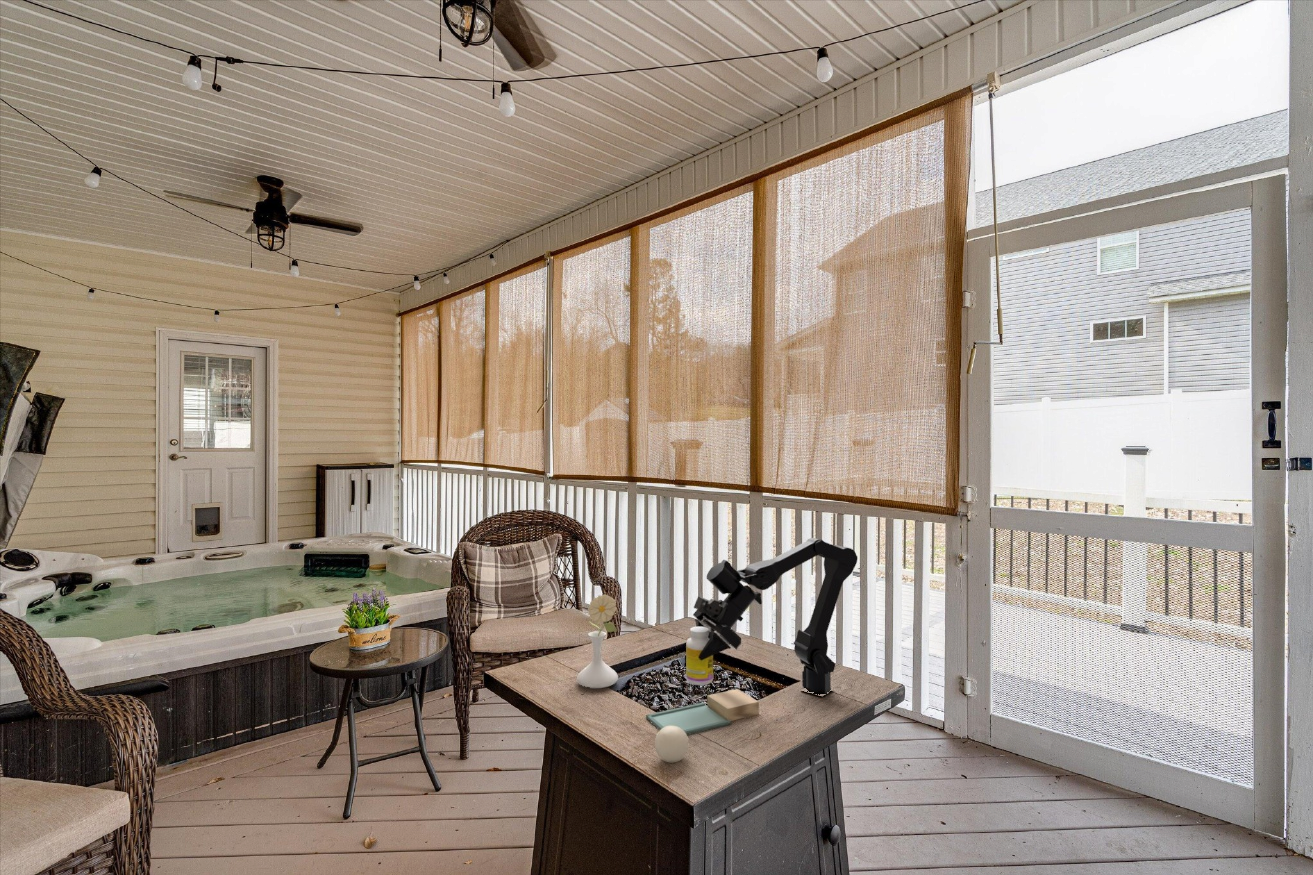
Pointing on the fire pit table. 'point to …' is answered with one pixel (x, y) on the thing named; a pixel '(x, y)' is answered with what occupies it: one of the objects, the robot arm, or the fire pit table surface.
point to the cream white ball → (671, 744)
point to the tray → (688, 718)
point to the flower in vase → (599, 645)
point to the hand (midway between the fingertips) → (694, 654)
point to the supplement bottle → (695, 668)
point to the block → (733, 704)
